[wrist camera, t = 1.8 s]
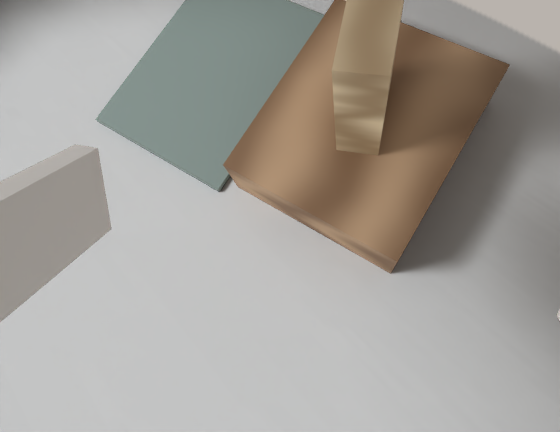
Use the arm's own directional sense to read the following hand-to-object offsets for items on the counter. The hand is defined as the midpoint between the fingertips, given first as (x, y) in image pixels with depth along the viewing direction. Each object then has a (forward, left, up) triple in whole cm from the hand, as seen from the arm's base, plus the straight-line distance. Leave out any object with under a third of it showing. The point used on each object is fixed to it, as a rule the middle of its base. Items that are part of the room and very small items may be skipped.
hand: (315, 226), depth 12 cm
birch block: (-4, +10, -13) cm, 17 cm away
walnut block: (-4, +10, -17) cm, 20 cm away
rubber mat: (-17, +10, -17) cm, 26 cm away
